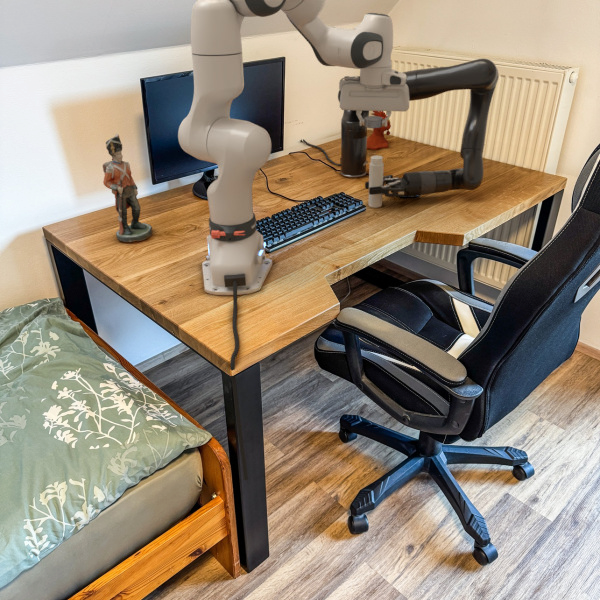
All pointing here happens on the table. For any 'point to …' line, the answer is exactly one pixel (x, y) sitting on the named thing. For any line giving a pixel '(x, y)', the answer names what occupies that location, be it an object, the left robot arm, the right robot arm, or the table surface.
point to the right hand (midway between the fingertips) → (367, 188)
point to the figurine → (124, 194)
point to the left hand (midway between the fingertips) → (373, 125)
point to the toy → (378, 134)
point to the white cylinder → (376, 180)
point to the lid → (373, 122)
